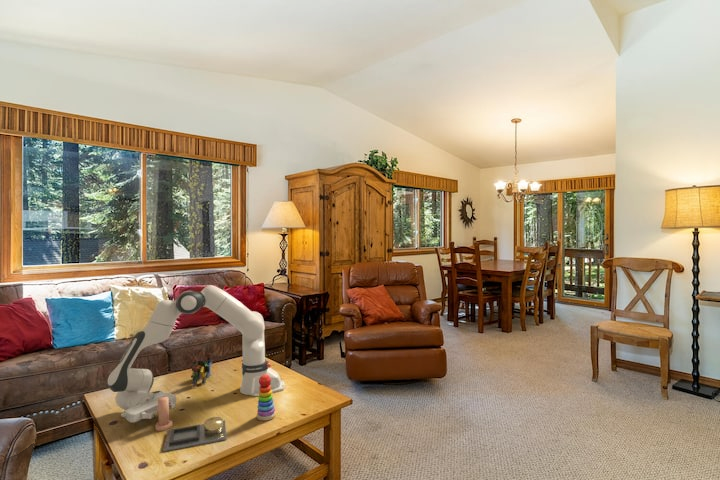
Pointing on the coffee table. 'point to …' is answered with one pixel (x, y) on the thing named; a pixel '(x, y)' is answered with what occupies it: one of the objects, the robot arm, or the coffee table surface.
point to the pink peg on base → (163, 415)
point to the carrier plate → (196, 434)
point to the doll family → (201, 371)
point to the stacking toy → (265, 399)
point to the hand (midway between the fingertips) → (162, 411)
